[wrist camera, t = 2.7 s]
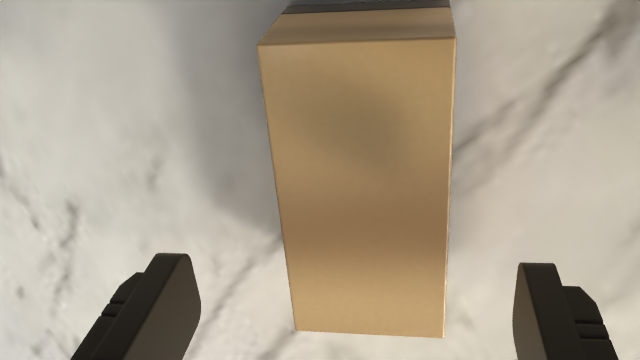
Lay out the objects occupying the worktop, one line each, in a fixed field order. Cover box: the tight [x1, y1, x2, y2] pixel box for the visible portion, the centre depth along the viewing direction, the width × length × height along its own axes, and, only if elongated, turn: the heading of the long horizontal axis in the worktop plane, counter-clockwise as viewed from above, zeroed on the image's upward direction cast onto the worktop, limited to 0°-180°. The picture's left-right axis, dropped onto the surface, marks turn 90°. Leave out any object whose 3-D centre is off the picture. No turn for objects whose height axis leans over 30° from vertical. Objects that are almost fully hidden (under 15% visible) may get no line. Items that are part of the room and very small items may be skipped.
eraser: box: [257, 0, 457, 338], centre depth 18 cm, size 10×5×4 cm, turn 5°
